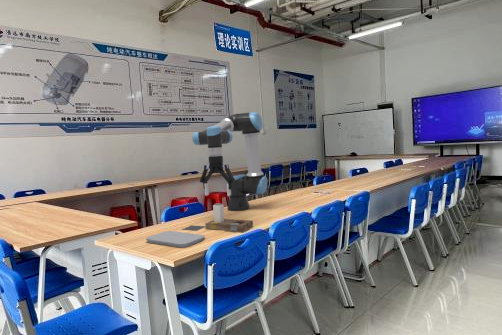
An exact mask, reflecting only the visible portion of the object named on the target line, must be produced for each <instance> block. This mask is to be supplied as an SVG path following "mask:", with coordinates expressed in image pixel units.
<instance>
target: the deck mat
mask: <svg viewBox="0 0 502 335" xmlns="http://www.w3.org/2000/svg"><path fill="white" fill-rule="evenodd" d="M204 228H205V225H188V226H187V227H184V228H182V229H180V230H182V231H191V232H192V231H193V232H198V231H200V230H202V229H204Z"/></svg>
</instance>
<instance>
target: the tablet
mask: <svg viewBox="0 0 502 335" xmlns="http://www.w3.org/2000/svg"><path fill="white" fill-rule="evenodd" d="M204 238H206V236H205V235H204V234H198V233H190V232H183V231H174V230H167V231H162V232H159V233H156V234H154V235H153V234H152V235H150V236H147V237H145V240H146V241H147V243H148V242H149V244H154V243H155V244H156V245H160V244H161V245H162V246H166V247H173V246H174V248H178V249H179V248H180V249H181V248H182V249H183V248H184V249H185V248H188V247H191V246H193V245H195V244H198V243H200V242H203V241H204ZM155 244H154V245H155Z"/></svg>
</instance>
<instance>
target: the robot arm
mask: <svg viewBox="0 0 502 335" xmlns="http://www.w3.org/2000/svg"><path fill="white" fill-rule="evenodd" d="M263 125H264V124H263V119H262V116H261V115H260V113H258V112H253V111H252V112H241V113H234V114H230V115H229V116H227V117H224V118H223V119H222V120H221V121H220V122H218V123H216V124H214V125H212V126H207V127H206V129H204V130H202V131H195V132H193V134H192V142H193V144H194V145H196V146H205V145H206V146H207V154H208V164H209V165H208V164H205V165H203V171H202V174H201V177H200V180H199V182H200V183H202V184H203V189H204V196H206V197H207V196H209V195H210V190H209V189H210V187H209V185H210V184H209V180H210V179H211V177H212V176H213V174H220V176H222V177H223V179H224V180H225V181H226V182H227V183H226V193H227V197H229V199H228V203H227V211H231V212H232V211H233V212H239V211H246V210H249V209H250V203H249V200H248V198H247V195H263V194H264V193H266V191H267V188H268V178H267V176H265V175H264V172H263V171H262V168H261V167H262V166H261V165H262V164H261V156H260V145H259V134H260V133H261V130H263ZM232 132H241V134H242V136H244V141H245V150H246V153H245V154H246V161H247V164H246V165H247V173H246V174H240V175H239V174H237V175H233V173H232V172H231V169H230V165H229V164H227V163H226V164H224V157H223V154H224V153H223V145H227V144H229V143H231V142H232V140H233V133H232ZM208 170H209V171H208Z"/></svg>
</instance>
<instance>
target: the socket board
mask: <svg viewBox="0 0 502 335" xmlns="http://www.w3.org/2000/svg"><path fill="white" fill-rule="evenodd" d="M204 226H205V227H204V228H205V230H209V231H221V232H222V231H223V232H228V233H229V232H230V233H245V232H247V231H248V230H251V229H252V228H253V227H254V222H253V220H249V219H248V220H247V219H246V220H245V219H233V218H232V219H230V218H224V222H222V223H219V222H214V219H212V220H211V221H208V222H205V224H204Z"/></svg>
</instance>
